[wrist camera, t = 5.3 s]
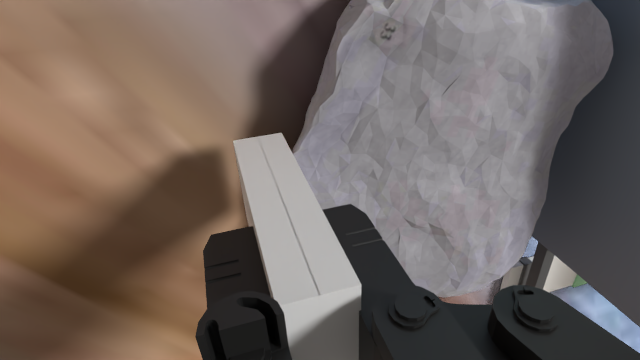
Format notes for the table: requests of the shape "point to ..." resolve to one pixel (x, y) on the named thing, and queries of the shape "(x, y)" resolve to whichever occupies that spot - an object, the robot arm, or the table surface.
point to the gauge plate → (599, 178)
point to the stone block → (450, 125)
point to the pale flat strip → (555, 280)
